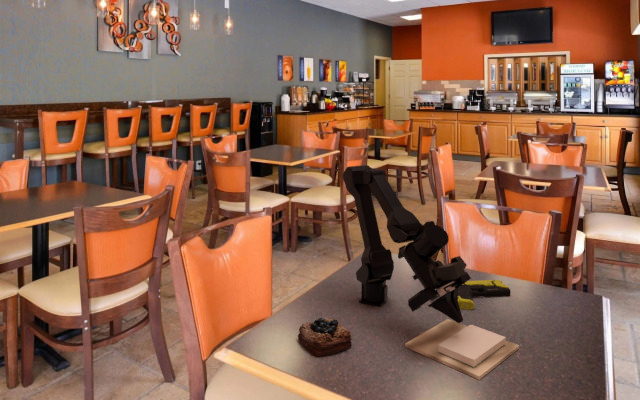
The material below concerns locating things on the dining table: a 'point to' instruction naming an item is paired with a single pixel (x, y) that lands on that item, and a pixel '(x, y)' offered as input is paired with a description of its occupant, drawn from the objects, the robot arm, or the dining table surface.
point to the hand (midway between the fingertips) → (461, 322)
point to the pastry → (324, 337)
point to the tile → (471, 345)
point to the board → (429, 348)
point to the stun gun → (480, 291)
